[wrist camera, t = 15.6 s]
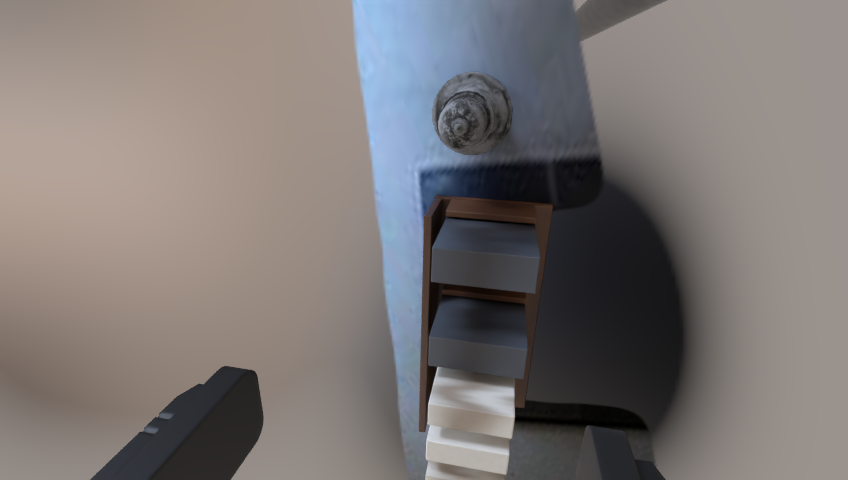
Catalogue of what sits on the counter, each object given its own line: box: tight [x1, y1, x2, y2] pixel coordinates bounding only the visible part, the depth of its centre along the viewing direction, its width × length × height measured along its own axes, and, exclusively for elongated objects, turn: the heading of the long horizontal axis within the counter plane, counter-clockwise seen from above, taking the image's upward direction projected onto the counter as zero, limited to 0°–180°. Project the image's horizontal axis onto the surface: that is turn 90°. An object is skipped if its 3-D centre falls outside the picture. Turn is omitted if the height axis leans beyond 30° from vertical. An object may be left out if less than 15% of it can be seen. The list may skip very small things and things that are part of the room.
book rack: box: [419, 195, 553, 480], centre depth 35 cm, size 10×22×13 cm, turn 178°
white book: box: [426, 425, 510, 475], centre depth 36 cm, size 6×2×12 cm, turn 88°
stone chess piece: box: [432, 72, 512, 155], centre depth 29 cm, size 6×6×12 cm
